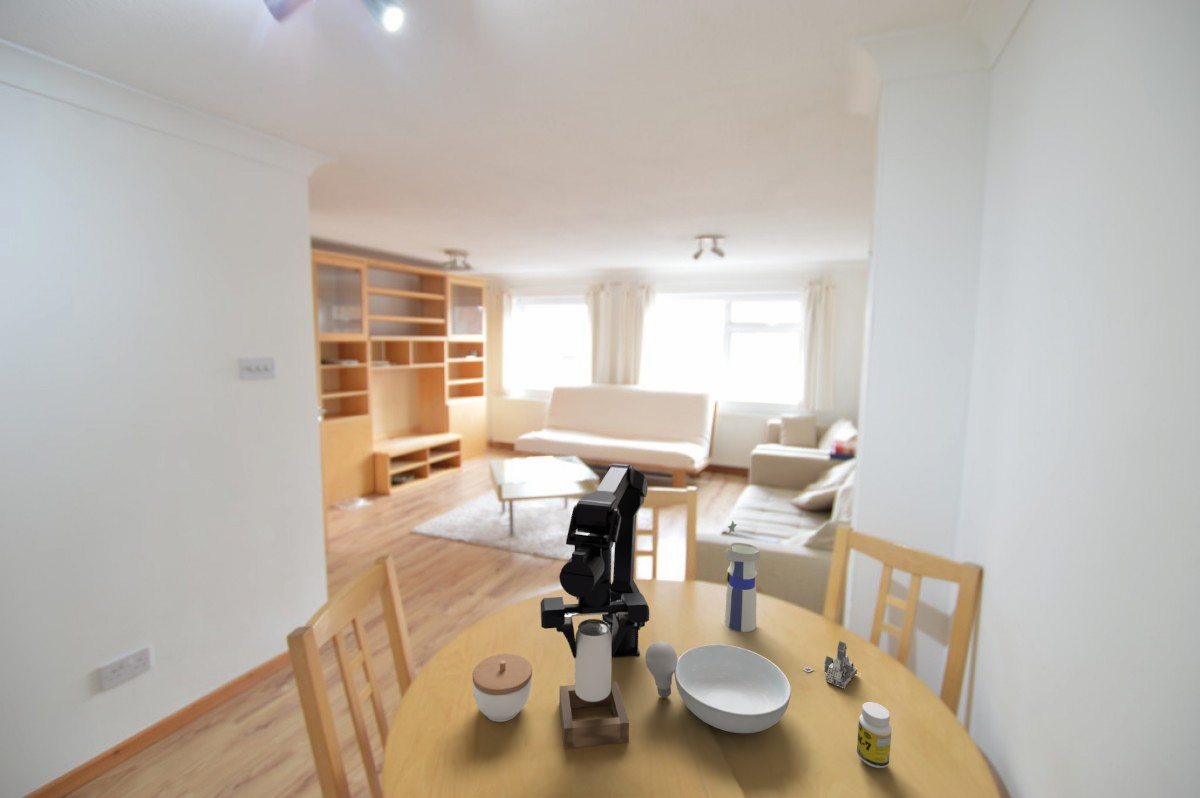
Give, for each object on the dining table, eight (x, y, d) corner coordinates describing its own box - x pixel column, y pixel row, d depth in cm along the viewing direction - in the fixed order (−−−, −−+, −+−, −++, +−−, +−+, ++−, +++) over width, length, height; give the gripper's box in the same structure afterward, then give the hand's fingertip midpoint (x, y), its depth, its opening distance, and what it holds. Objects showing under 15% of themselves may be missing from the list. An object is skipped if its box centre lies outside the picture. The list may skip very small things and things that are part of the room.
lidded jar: (532, 728, 89) (533, 677, 88) (470, 734, 87) (470, 683, 86) (531, 688, 99) (531, 643, 99) (475, 693, 98) (474, 647, 97)
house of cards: (819, 653, 114) (821, 620, 113) (860, 671, 108) (862, 636, 107) (801, 669, 108) (803, 635, 107) (843, 690, 101) (846, 653, 101)
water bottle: (716, 625, 124) (720, 526, 122) (729, 611, 131) (733, 517, 129) (750, 636, 119) (754, 533, 117) (761, 621, 126) (765, 524, 124)
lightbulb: (683, 687, 99) (678, 636, 98) (677, 710, 94) (672, 657, 92) (653, 682, 102) (648, 633, 100) (645, 705, 96) (640, 652, 94)
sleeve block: (616, 698, 97) (617, 681, 97) (628, 742, 86) (629, 722, 86) (559, 703, 95) (559, 686, 95) (564, 748, 84) (564, 728, 84)
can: (612, 681, 93) (613, 618, 92) (609, 705, 87) (610, 638, 86) (577, 678, 94) (578, 616, 93) (572, 702, 87) (572, 635, 86)
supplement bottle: (850, 747, 86) (853, 700, 85) (877, 745, 86) (880, 699, 86) (867, 770, 81) (871, 720, 80) (895, 768, 82) (899, 719, 81)
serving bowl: (789, 768, 81) (791, 728, 81) (662, 732, 89) (663, 695, 88) (789, 689, 101) (790, 656, 100) (684, 665, 108) (685, 634, 107)
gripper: (636, 550, 98) (634, 627, 99) (539, 554, 95) (539, 634, 96) (651, 575, 87) (648, 662, 88) (541, 581, 84) (541, 670, 85)
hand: (593, 655), depth 90 cm, fingers closed on can, 6 cm apart
